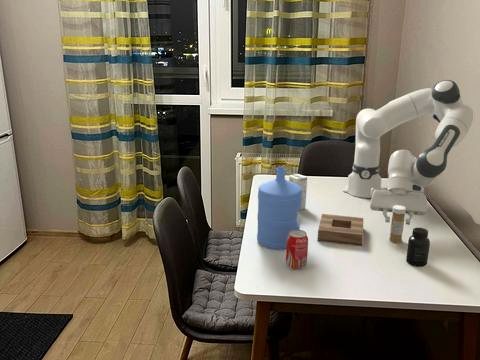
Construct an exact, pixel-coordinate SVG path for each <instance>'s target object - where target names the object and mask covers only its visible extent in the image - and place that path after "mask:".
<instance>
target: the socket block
mask: <svg viewBox="0 0 480 360" xmlns="http://www.w3.org/2000/svg"><path fill="white" fill-rule="evenodd" d="M363 239H364V217H359V216H358V217H357V216H347V215H338V214H337V215H336V214H330V213H329V214H327V213H322V214H321V217H320V221H319V225H318V229H317V240H316V241H317V242H321V243H330V244H331V243H332V244H340V245H349V246H356V247H357V246H358V247H363Z"/></svg>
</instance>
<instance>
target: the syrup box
mask: <svg viewBox="0 0 480 360" xmlns="http://www.w3.org/2000/svg"><path fill="white" fill-rule="evenodd" d="M288 177H289V179H288V181H290V182H292V183H294V184H297V185H299V186H300V187H301V189H302V201H301V208H300V209H299V210H298V211H300V210H303V209H306V207H307V206H306V205H307V203H306V202H307V189H308V176H306V175H302V174H299V173H294V174H291V175H289V176H288Z"/></svg>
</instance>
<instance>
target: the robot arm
mask: <svg viewBox="0 0 480 360" xmlns="http://www.w3.org/2000/svg"><path fill="white" fill-rule="evenodd" d="M473 111H474V110H473V108H472V107H470V106H469V105H468V104H464V102H463V99H462V96H461V92H460V88H459V86H458V84H457V83H456V82H455V81H454V80H452V79H443V80H440V81H438V82H436V83H435V84H433V86H432V88H431V87H427V88H422V89H418V90H414V91H412V92H409V93H407V94H404V95H403V96H400V97H397V98H396V99H393V100H391V101H389V102H388V103H386V104H385V105H383V106H382V107H380V108H378V109H376V110H375V109H373V108H363V109H361V110H360V111H359V112H358V113H357V115H356V118H355V150H354V161H353V164H352V172H351V173H350V174H348V175H347V176H348V177H347V179H348V182H347V184H346V185H345V187H343V191H342V192H344V193H346V194H347V193H348V194H350V195H351V196H353V197H358V198H362V199H363V198H366V199H369V198H371V199H370V205H369V208H370V210H371V211H376V212H382V215H383V217H384V220H385V223H388V224H390V222H391V220H390V219H391V216H389V215H388V214H387V213H393V211H392V210H393V206H395V205H401V206H404V207H405V208H406V213H405V215H408V218H406V219H405V225H409V226H410V225H411V220H412V219H413V217H414V215H415V216H416V215H417V216H425V215H426V214H427V212H428V200H427V196H426V194H424V193H425V189H427V188H429V187H431V185H433V183H434V182H435V181H436V179H437V178H438V177H439V176H440V175H441V174H442V173H443V172H444V171H445V170H446V168H447V165H448V154H449V153H450V151H451V150H452V148H454V147H457V146H458V145H460V143H461V142H462V141H463V140H464V138H466V136H467V134H468V133H469V131H470V129H471V127H472V125H473V123H472V121H473V122H474V120H473ZM425 114H433V115H432V118H433V119H434V120H436V122H437V123H439V124H438V126H437V128H436V130H435V132H434V137H435V139H436V140H435V141H434V143H433V144H432V145H431V146H430V147H428V148H426V149H425V150H423V151H421V153H420V154H419V155H418V156H417V157H416V156H415V155H414V154H412V152H411V151H410V150H409V149H408V150H407V149H398V150H395V151H394V152H393V153H391V155H390V157H389V160H388V167H387V174H388V178H387V182H386V183H387V184H386V187H382V177H381V175H380V174H379V173H380V164H379V163H380V156H381V137H382V136H383V135H384V134H386V133H388V132H390V131H391V130H393V129H395V128H396V127H398V126H399V125H401V124H404V123H407V122H408V121H409V122H410V121H411V120H414V119H416V118H419V117H420V116H423V115H425Z"/></svg>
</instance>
